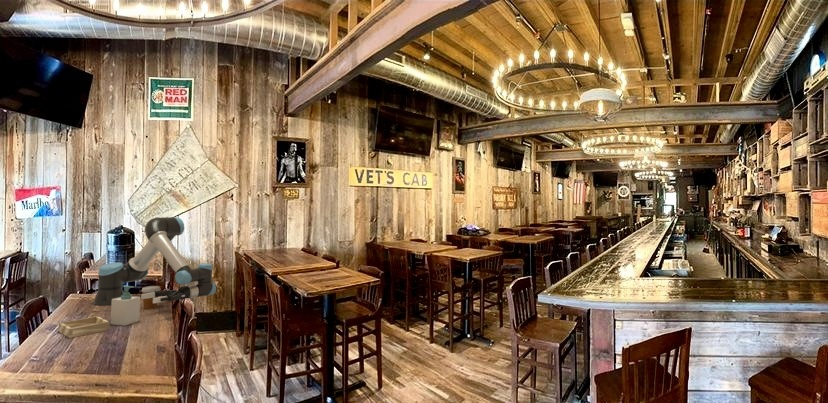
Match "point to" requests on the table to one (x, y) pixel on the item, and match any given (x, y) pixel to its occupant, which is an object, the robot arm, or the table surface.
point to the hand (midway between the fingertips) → (147, 298)
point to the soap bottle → (125, 308)
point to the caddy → (83, 326)
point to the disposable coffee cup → (149, 301)
